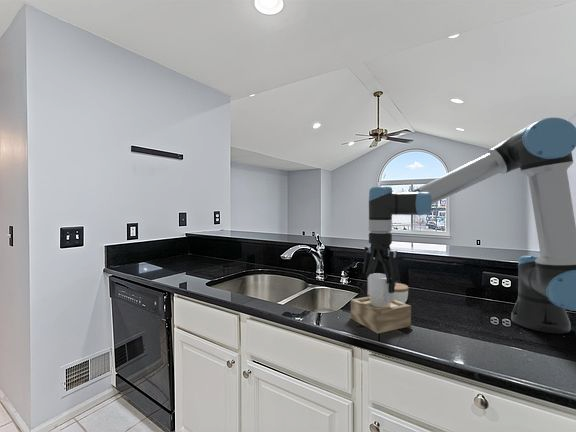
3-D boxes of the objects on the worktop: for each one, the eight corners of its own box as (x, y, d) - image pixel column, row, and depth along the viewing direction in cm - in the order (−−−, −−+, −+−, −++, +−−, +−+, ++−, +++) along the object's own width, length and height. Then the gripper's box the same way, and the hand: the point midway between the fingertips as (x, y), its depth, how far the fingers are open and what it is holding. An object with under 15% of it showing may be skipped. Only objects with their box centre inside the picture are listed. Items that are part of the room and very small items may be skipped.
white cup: (365, 301, 106) (365, 273, 105) (386, 300, 106) (386, 273, 106) (373, 309, 98) (373, 278, 97) (396, 308, 98) (396, 278, 98)
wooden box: (410, 326, 99) (411, 305, 99) (377, 333, 93) (377, 311, 93) (381, 312, 111) (381, 294, 111) (350, 318, 106) (350, 299, 106)
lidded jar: (407, 302, 124) (407, 279, 124) (409, 310, 114) (409, 286, 113) (380, 299, 127) (380, 277, 127) (379, 307, 117) (379, 283, 117)
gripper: (412, 234, 93) (412, 306, 94) (368, 229, 112) (368, 289, 113) (394, 235, 90) (394, 309, 91) (352, 230, 109) (352, 291, 110)
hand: (379, 298), depth 102 cm, fingers open, 8 cm apart
